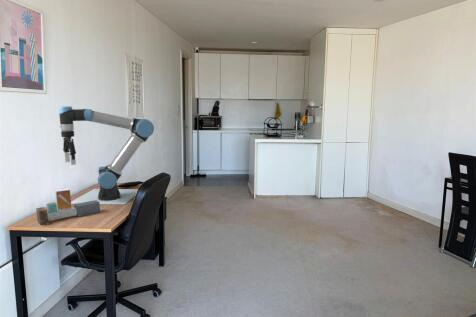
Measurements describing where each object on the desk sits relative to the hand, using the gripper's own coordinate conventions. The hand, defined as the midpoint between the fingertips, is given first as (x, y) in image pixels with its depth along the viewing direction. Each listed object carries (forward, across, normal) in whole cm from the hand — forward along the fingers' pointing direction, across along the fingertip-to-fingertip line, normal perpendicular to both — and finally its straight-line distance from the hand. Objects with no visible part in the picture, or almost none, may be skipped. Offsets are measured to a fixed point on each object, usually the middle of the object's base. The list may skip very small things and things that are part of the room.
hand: (70, 163), depth 226 cm
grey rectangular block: (+29, +23, +2) cm, 37 cm away
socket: (+29, +23, -23) cm, 43 cm away
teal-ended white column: (+27, +23, -13) cm, 38 cm away
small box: (+29, +3, -7) cm, 30 cm away
